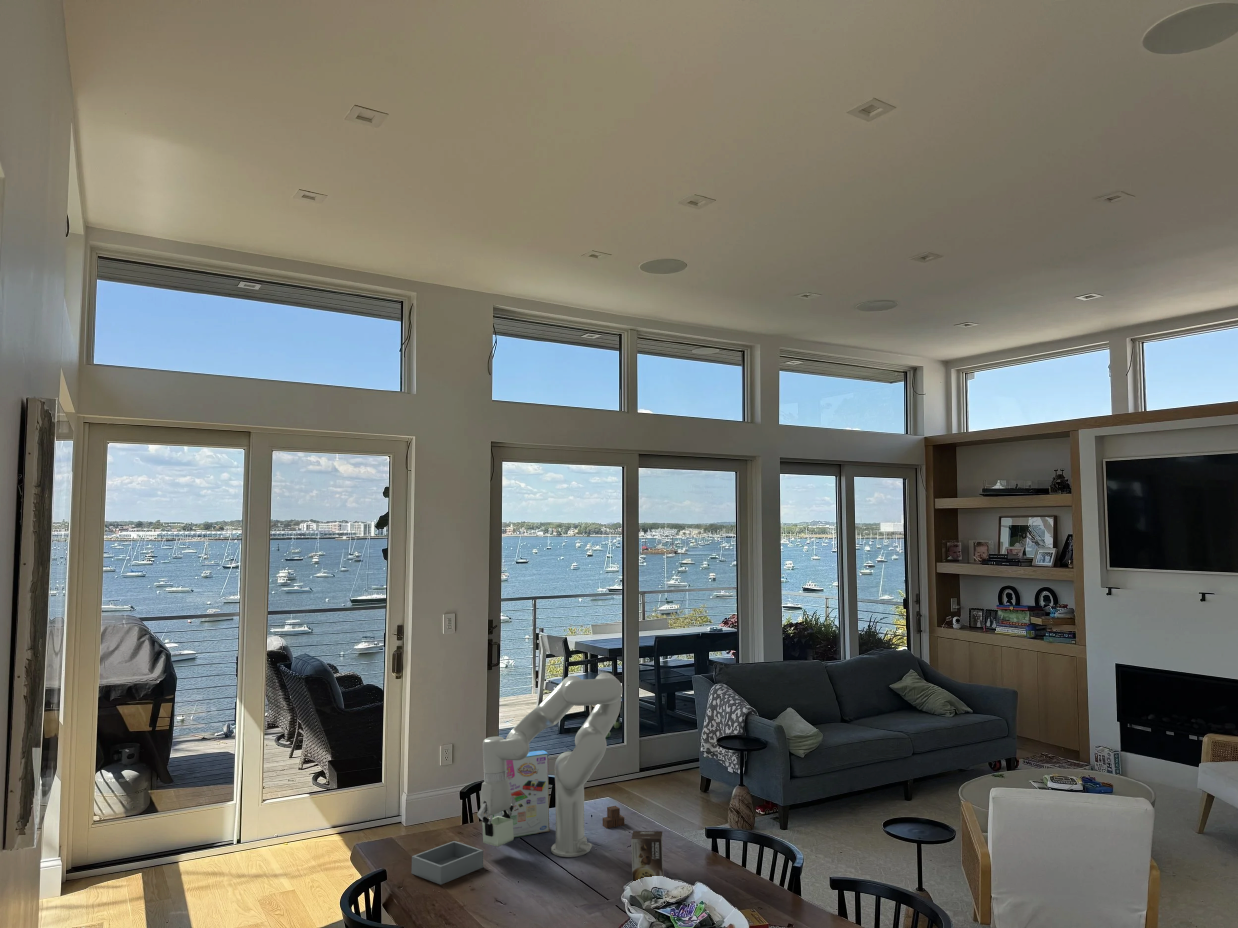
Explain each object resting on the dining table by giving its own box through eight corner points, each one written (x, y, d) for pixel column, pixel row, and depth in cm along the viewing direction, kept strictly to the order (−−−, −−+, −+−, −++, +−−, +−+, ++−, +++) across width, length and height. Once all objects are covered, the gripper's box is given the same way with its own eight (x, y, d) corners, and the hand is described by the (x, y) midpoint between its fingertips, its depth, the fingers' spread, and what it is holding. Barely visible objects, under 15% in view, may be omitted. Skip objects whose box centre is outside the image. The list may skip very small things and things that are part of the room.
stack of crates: (605, 838, 291) (604, 817, 292) (588, 825, 305) (588, 805, 306) (643, 831, 298) (643, 811, 298) (625, 818, 311) (625, 799, 312)
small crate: (513, 839, 275) (512, 819, 275) (497, 846, 269) (496, 825, 270) (499, 835, 279) (498, 815, 280) (483, 842, 274) (482, 822, 274)
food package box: (664, 886, 248) (663, 830, 250) (663, 896, 242) (662, 838, 243) (633, 886, 249) (632, 829, 251) (631, 895, 243) (631, 837, 244)
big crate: (483, 868, 265) (483, 850, 266) (440, 885, 252) (440, 866, 253) (454, 857, 274) (454, 840, 275) (411, 874, 261) (411, 856, 261)
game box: (544, 827, 302) (544, 749, 304) (550, 831, 296) (549, 752, 299) (488, 836, 293) (488, 756, 296) (492, 841, 288) (492, 759, 291)
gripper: (506, 767, 285) (509, 821, 284) (467, 781, 272) (470, 838, 270) (522, 770, 280) (525, 825, 279) (483, 784, 267) (485, 842, 266)
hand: (498, 831), depth 275 cm, fingers closed on small crate, 7 cm apart
